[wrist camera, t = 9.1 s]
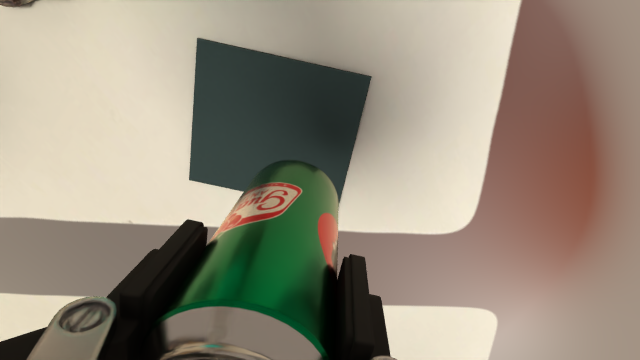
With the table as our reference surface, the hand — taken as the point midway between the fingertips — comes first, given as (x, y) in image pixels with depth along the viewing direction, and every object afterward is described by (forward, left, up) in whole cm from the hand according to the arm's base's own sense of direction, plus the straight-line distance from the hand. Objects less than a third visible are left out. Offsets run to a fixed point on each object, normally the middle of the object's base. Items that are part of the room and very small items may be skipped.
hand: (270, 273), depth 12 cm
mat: (0, -4, -21) cm, 22 cm away
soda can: (0, 0, -7) cm, 7 cm away
